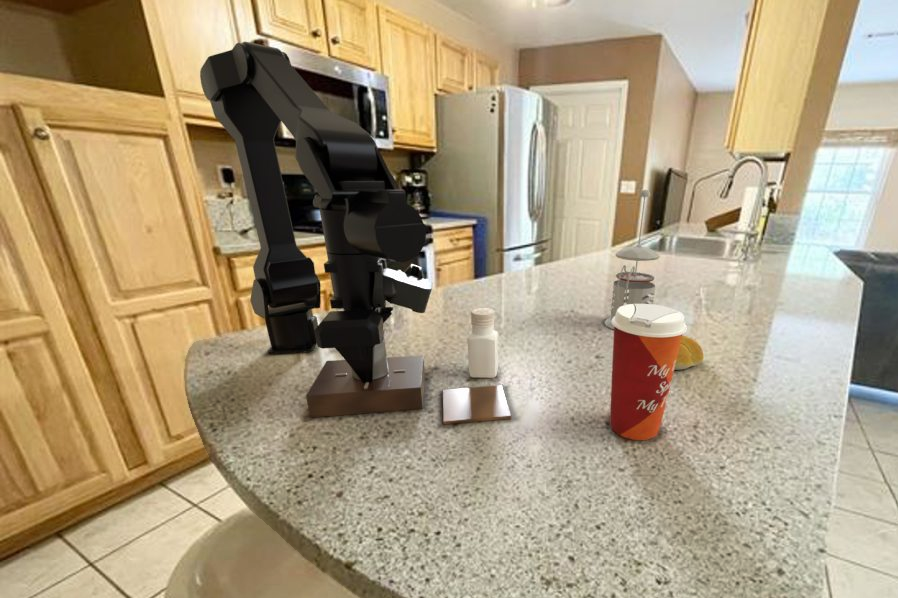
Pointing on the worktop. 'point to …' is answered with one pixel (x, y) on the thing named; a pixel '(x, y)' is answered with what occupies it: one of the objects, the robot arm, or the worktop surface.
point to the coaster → (474, 404)
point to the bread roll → (688, 354)
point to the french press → (633, 276)
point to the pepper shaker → (483, 344)
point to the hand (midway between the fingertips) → (371, 372)
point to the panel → (367, 389)
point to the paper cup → (643, 367)
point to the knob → (378, 361)
